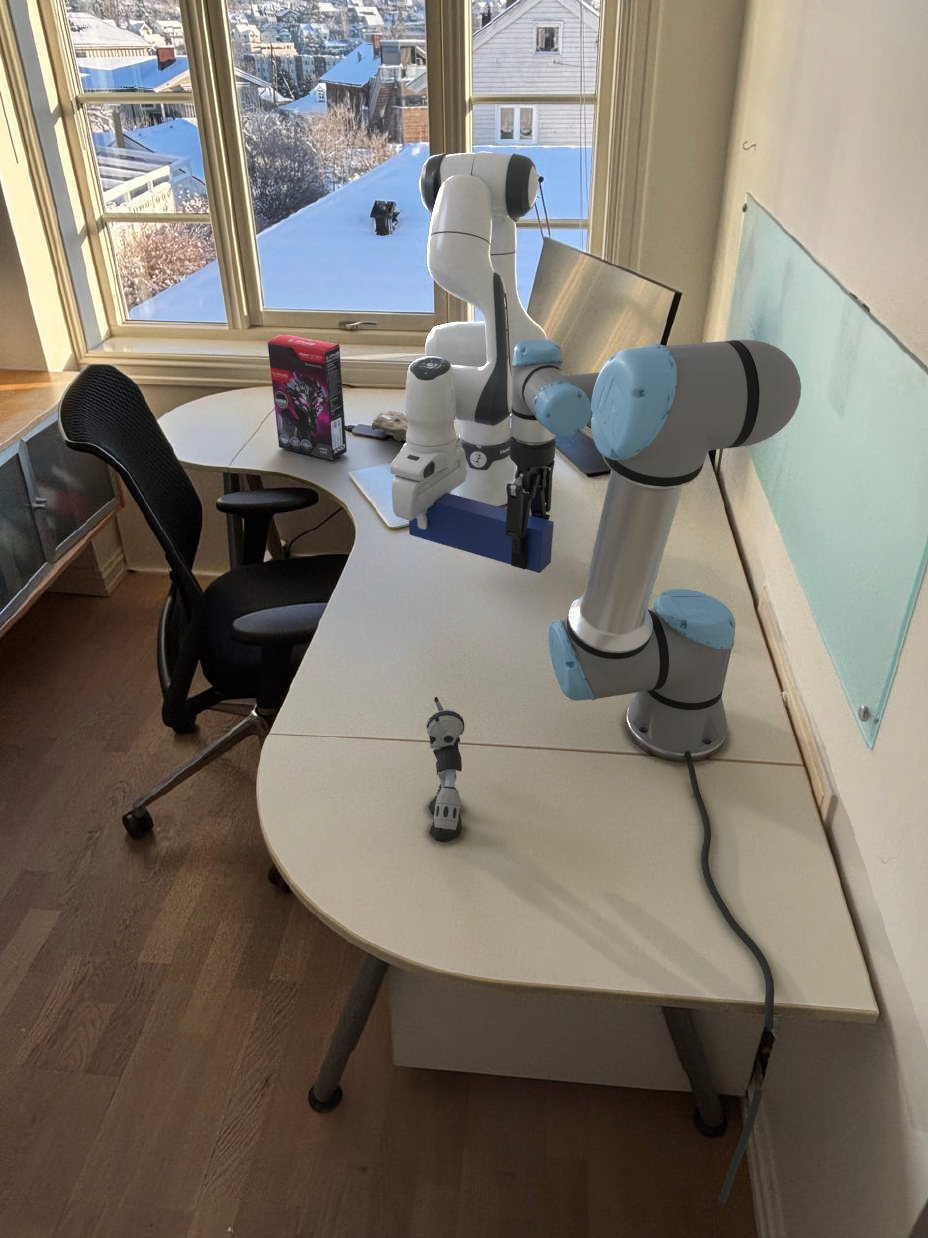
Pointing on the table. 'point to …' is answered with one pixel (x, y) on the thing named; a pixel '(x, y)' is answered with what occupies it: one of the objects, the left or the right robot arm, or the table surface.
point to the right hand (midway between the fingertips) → (526, 559)
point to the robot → (446, 772)
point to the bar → (483, 531)
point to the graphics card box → (308, 395)
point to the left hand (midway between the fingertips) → (432, 521)
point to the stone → (392, 424)
